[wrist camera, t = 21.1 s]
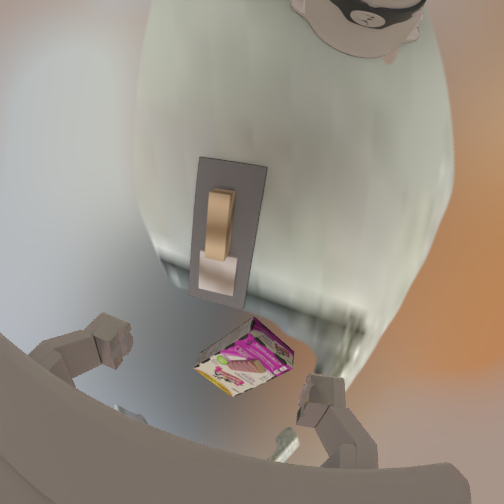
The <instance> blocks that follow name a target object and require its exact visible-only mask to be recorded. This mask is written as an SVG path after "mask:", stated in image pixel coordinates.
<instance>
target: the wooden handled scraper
mask: <svg viewBox="0 0 504 504" xmlns="http://www.w3.org/2000/svg"><path fill="white" fill-rule="evenodd" d="M235 194H236V191H232V190H226V189H219V188H215V189H214V190H212V191H210V192H209V200H208V213H207V227H206V243H205V249H203V248H202V249H201V250H200V263H199V289H204V290H208V291H212V292H216V293H221V294H225V295H229V296H233V295H234V292H235V283H236V274H237V265H238V255H233V254H229V251H230V241H231V232H232V222H233V213H234V203H235Z"/></svg>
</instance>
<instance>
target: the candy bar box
mask: <svg viewBox="0 0 504 504" xmlns="http://www.w3.org/2000/svg"><path fill="white" fill-rule="evenodd" d="M293 359H294V351H293V350H291V349H290V348H289V347H288V346H287V345H286V344H285V343H284V342H282V341H281V340H280V339H279V338H278V337H277V336H275V334H273V333H272V332H271V331H270V330H269V329H268V328H267V327H265V326H264V325H263V324H262V323H261V322H260V321H259V320H258V319H256V318H255V317H252V318H251V319H250V320H248V321H247V322H245V323H244V324H242V325H241V326H240V327H238V328H237V329H235V330H234V331H232V332H231V333H229V334H228V335H226V336H225V337H224V338H222V339H220V340H219V341H218V342H216V343H214V344H213V345H211V346H210V347H208V348H207V349H205V350H204V351H202V352H201V353H200V355H199V357H198V359H197V361H196V363H195V365H194V367H193V368H194V369H195V370H197V371H198V372H199V373H200V374H202V375H203V376H204V377H206V378H207V379H208V380H210V381H211V382H213V383H214V384H215V385H216V386H218V387H219V388H221V389H222V390H224V391H225V392H226V393H228V394H229V395H231V396H232V397H234V396H237V395H239V394H241V393H243V392H246V391H248V390H250V389H252V388H254V387H257V386H259V385H261V384H263V383H265V382H267V381H269V380H271V379H273V378H275V377H277V376H279V375H281V374H283V373H285V372H287V371H289V370H291V369H292V368H293Z"/></svg>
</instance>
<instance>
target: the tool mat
mask: <svg viewBox="0 0 504 504" xmlns="http://www.w3.org/2000/svg"><path fill="white" fill-rule="evenodd" d="M266 173H267V167H262V166H256V165H251V164H245V163H239V162H232V161H226V160H219V159H211V158H204V157H199V164H198V173H197V183H196V193H195V204H194V216H193V229H192V243H191V260H190V280H189V296H192V297H196V298H200V299H203V300H207V301H211V302H215V303H218V304H222V305H227V306H230V307H234V308H238V309H242V310H243V309H244V304H245V298H246V292H247V286H248V280H249V274H250V268H251V262H252V256H253V250H254V244H255V238H256V232H257V226H258V221H259V215H260V209H261V203H262V197H263V191H264V185H265V179H266ZM215 188H219V189H226V190H232V191H236V194H235V203H234V213H233V222H232V232H231V241H230V251H229V254H233V255H238V265H237V274H236V283H235V292H234V295H233V296H229V295H225V294H221V293H216V292H212V291H208V290H204V289H199V263H200V250H201V249H202V248H203V249H205V243H206V227H207V213H208V200H209V192H210V191H212V190H214V189H215Z"/></svg>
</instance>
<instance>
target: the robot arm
mask: <svg viewBox="0 0 504 504" xmlns="http://www.w3.org/2000/svg"><path fill="white" fill-rule="evenodd" d="M425 1H426V0H292V1H291V8H292V9H293V10H294V11H295V12H297V13H298V14H299V15H301V16H302V17H304V18H305V19H306V20H307V21H308V22H309V24H310V25H311V27H312V29H313V30H314V31H315V33H316V34H317V35H318V36H319V37H320V38H321V39H322V40H323V41H324V42H326V43H327V44H328V45H330V46H331V47H333V48H335V49H337V50H339V51H341V52H343V53H346V54H349V55H353V56H357V57H365V58H373V57H380V56H383V55H386V54H389V53H391V52H392V51H394V50H395V49H396V48H397V47H398V46H400V45H401V44H403V43H408V42H413V41H415V40H417V38H418V37H419V31H418V25H419V23H420V22H421V21H422V19H423V14H422V13H421V9H422V7H423V6H424V4H425ZM130 331H131V325H130V324H129V323H127V322H125V321H123V320H120V319H118V318H116V317H113V316H111V315H108V314H106V313H101V314H100V315H99V316H98V317H97V318H96V319H94V321H92V322H91V323H90V324H89V325H88V326H87V327H86V328H85V329H84V330H83V331H82V330H79V331H75V332H72V333H69V334H65V335H62V336H58V337H55V338H51V339H48V340H44V341H42V342H41V343H40V344H39V345H38V346H37V347H36V348H35V349H34V350H33V351H32V352H31V353H30V354H28V355H27V354H25V353H24V352H23V351H22V350H20V349H19V348H18V347H17V346H15V345H14V344H13V343H12V342H11V341H9V340H8V339H7V338H6V337H5V336H3V335H2V334H1V333H0V504H471V493H470V487H469V483H468V481H467V479H466V478H465V477H464V476H463V475H462V474H461V473H460V471H459V470H457V469H456V468H455V467H454V466H453V465H452V464H451V463H447V462H445V463H437V464H430V465H422V466H413V467H402V468H387V469H386V468H385V469H378V453H377V444H376V443H375V442H374V440H373V439H372V438H371V436H370V435H369V434H368V432H367V431H366V430H365V429H364V427H363V426H362V425H361V423H360V422H359V421H358V420H357V418H356V417H355V416H354V414H353V413H352V411H351V410H350V409H349V408H346V402H345V383H344V379H343V378H339V377H331V376H326V375H320V374H313V373H309V374H308V376H307V379H306V384H304V385H303V387H302V390H301V393H300V397H299V403H298V405H299V406H300V409H299V410H298V413H297V421H296V425H300V426H306V427H312V428H315V430H316V432H317V434H318V436H319V438H320V440H321V442H322V444H323V446H324V448H325V450H326V452H327V453H328V455H329V457H330V458H328V459H327V460H326V462H324V464H322V465H321V466H320V467H313V466H304V465H295V464H288V463H281V462H275V461H269V460H264V459H258V458H253V457H249V456H245V455H240V454H236V453H232V452H228V451H224V450H220V449H217V448H213V447H209V446H206V445H203V444H200V443H197V442H194V441H190V440H187V439H185V438H182V437H179V436H176V435H173V434H171V433H168V432H165V431H162V430H160V429H158V428H155V427H153V426H150V425H148V424H145V423H143V422H141V421H138V420H136V419H134V418H132V417H130V416H127V415H125V414H123V413H121V412H119V411H117V410H115V409H113V408H111V407H109V406H107V405H105V404H103V403H101V402H99V401H97V400H96V399H94V398H92V397H90V396H89V395H87V394H85V393H83V392H81V391H80V390H78V389H76V387H75V384H74V382H73V380H72V378H74V377H76V376H78V375H81V374H83V373H84V372H87V371H89V370H91V369H93V368H95V367H97V366H99V365H101V363H102V364H104V365H106V366H109V367H111V368H113V369H117V368H118V366H119V365H120V364H121V362H122V361H123V356H125V355H128V353H129V352H130V351H131V348H132V345H133V337H132V335H131V334H130Z"/></svg>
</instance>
